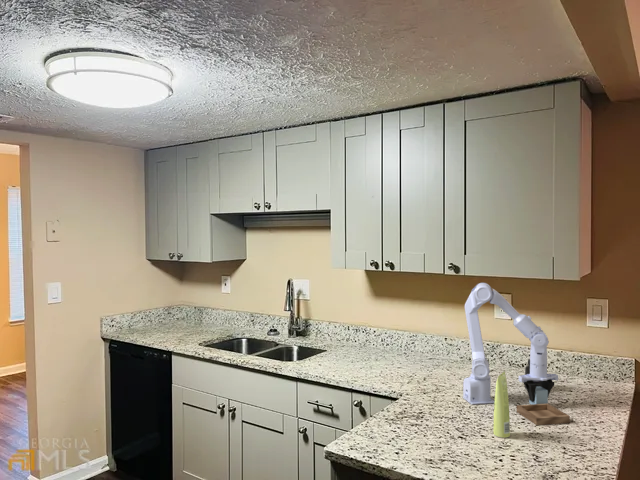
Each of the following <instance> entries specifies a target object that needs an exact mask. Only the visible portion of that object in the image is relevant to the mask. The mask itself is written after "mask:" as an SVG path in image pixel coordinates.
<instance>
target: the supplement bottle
mask: <svg viewBox="0 0 640 480" xmlns="http://www.w3.org/2000/svg"><path fill="white" fill-rule="evenodd" d="M526 374H530V358H528V359H527V365H526V366H525V368H524V375H526ZM533 382H534V384H536V385H537V386H536V387H539V386H541V382H540V381H533ZM524 388H525V390H526V391H527V389H526V387H525V386H524Z"/></svg>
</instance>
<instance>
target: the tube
mask: <svg viewBox="0 0 640 480" xmlns="http://www.w3.org/2000/svg"><path fill="white" fill-rule="evenodd" d="M509 402H510V401H509V391H508V381H507V375H506V371H505V370H503V371H502V372H501V373H500V374H498V375H497V379H496V382H495V392H494V403H493V435H494V436H495V437H497V438H502V439H505V438H509V437H511V423H510V422H511V420H510V418H511V417H510V403H509Z"/></svg>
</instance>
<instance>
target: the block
mask: <svg viewBox="0 0 640 480" xmlns="http://www.w3.org/2000/svg"><path fill="white" fill-rule="evenodd" d="M546 403H548V404H549V396H548V390H546V389H544V388H542V387H541V386H539V387H536V389H535V401H534V402H532V401H530V400H529V399H528V404H529V405H531V404H546Z"/></svg>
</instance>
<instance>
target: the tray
mask: <svg viewBox="0 0 640 480" xmlns="http://www.w3.org/2000/svg"><path fill="white" fill-rule="evenodd" d="M516 412H517V414H519V415H520V416H522V417H524V418H525V419H526V420H527V421H529V422H531V423H532V424H533V425H535V426H544V425H545V426H547V425H558V424H559V425H560V424H562V425H563V424H570V422H571V419H570V418H571V417H570V415H569V414H567V413H565V412H564V411H562V410H560V409H558V408H557V407H555V406H553V405H552V404H549V402H548V403H546V404H520V405H519V404H517V405H516Z"/></svg>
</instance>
